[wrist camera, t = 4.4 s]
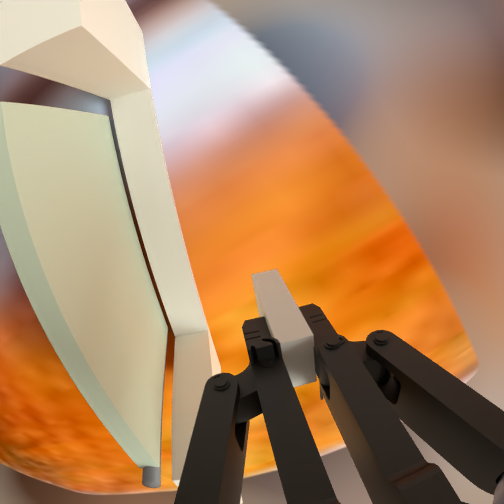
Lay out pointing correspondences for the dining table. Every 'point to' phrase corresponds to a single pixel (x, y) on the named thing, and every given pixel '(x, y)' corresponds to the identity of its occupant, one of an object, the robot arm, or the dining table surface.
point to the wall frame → (124, 161)
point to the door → (85, 268)
